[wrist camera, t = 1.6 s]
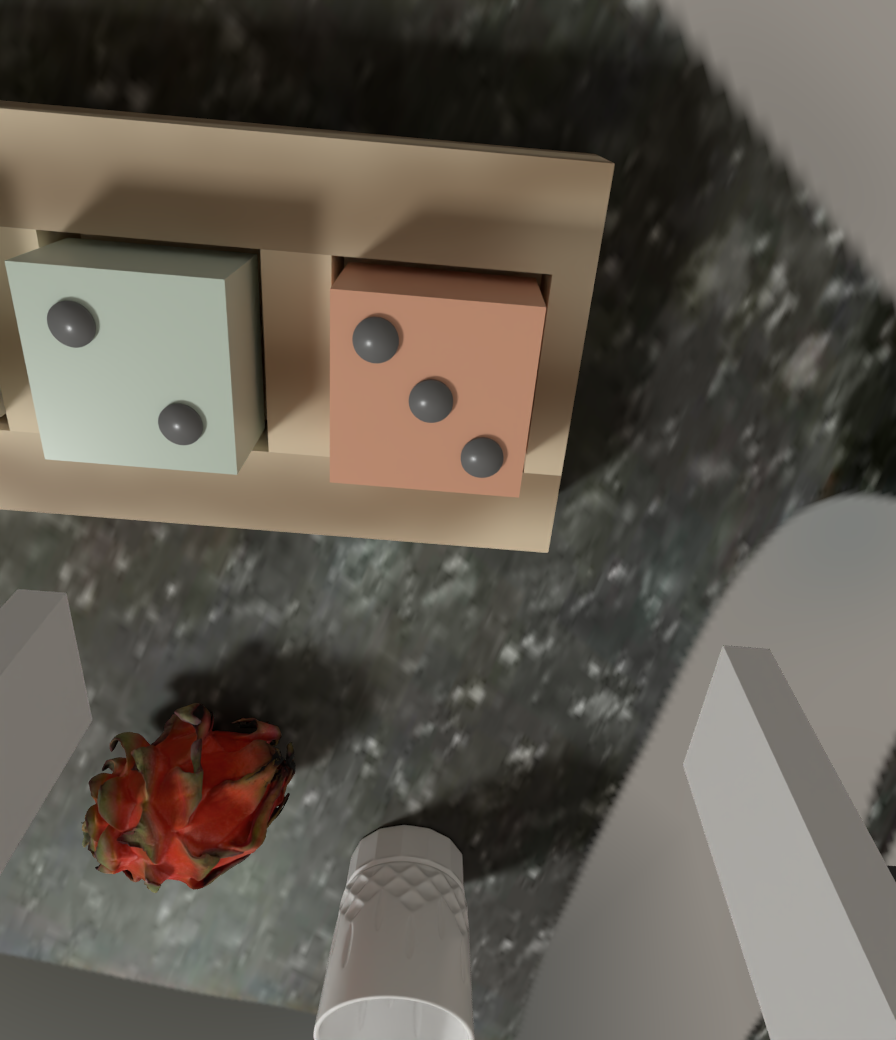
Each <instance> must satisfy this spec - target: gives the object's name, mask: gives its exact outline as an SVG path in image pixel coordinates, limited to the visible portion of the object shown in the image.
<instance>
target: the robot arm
mask: <svg viewBox="0 0 896 1040" xmlns="http://www.w3.org/2000/svg"><path fill="white" fill-rule="evenodd" d="M91 722H92V715H91V711H90V706H89V701H88V696H87V691H86V686H85V681H84V677H83V672H82V667H81V662H80V657H79V652H78V647H77V643H76V638H75V633H74V628H73V623H72V618H71V613H70V609H69V604H68V599H67V594H66V593H60V592H48V591H35V590H23V589H17V591H16V592H15V593H14V594H13V595H12V596H11V597H10V598H9V599H8V601H7V602H6V603H5V604H4V605H3V606H2V607H1V608H0V874H1V873H2V871H3V869H4V868H5V866H6V864H7V863H8V861H9V859H10V858H11V856H12V854H13V853H14V851H15V849H16V847H17V846H18V844H19V842H20V841H21V839H22V837H23V836H24V834H25V832H26V831H27V829H28V827H29V826H30V824H31V822H32V821H33V819H34V817H35V816H36V814H37V812H38V811H39V809H40V807H41V806H42V804H43V802H44V800H45V799H46V797H47V795H48V794H49V792H50V790H51V789H52V787H53V785H54V784H55V782H56V780H57V779H58V777H59V775H60V774H61V772H62V770H63V769H64V767H65V765H66V764H67V762H68V760H69V758H70V757H71V755H72V753H73V752H74V750H75V748H76V747H77V745H78V743H79V742H80V740H81V738H82V737H83V735H84V733H85V732H86V730H87V728H88V727H89V725H90V723H91ZM683 767H684V770H685V773H686V776H687V779H688V783H689V786H690V789H691V792H692V795H693V798H694V801H695V804H696V807H697V811H698V814H699V817H700V820H701V823H702V826H703V830H704V833H705V836H706V839H707V842H708V845H709V848H710V851H711V854H712V858H713V860H714V864H715V867H716V870H717V873H718V877H719V880H720V883H721V886H722V889H723V892H724V895H725V898H726V902H727V905H728V908H729V911H730V914H731V917H732V920H733V923H734V927H735V930H736V933H737V936H738V939H739V942H740V945H741V948H742V952H743V955H744V958H745V961H746V964H747V967H748V970H749V974H750V976H751V979H752V983H753V986H754V989H755V992H756V996H757V998H758V1001H759V1005H760V1008H761V1011H762V1014H763V1017H764V1021H765V1024H766V1027H767V1030H768V1033H769V1036H770V1039H771V1040H896V866H887V865H886V863H885V862H884V860H883V858H882V856H881V854H880V852H879V850H878V849H877V847H876V845H875V843H874V841H873V839H872V838H871V836H870V834H869V832H868V830H867V828H866V826H865V825H864V823H863V821H862V819H861V817H860V815H859V814H858V812H857V810H856V808H855V806H854V804H853V802H852V801H851V799H850V797H849V795H848V793H847V791H846V790H845V788H844V786H843V784H842V782H841V780H840V778H839V777H838V775H837V773H836V771H835V769H834V767H833V765H832V764H831V762H830V760H829V758H828V756H827V754H826V753H825V751H824V749H823V747H822V745H821V743H820V742H819V740H818V738H817V736H816V734H815V732H814V730H813V728H812V727H811V725H810V723H809V721H808V719H807V717H806V716H805V714H804V712H803V710H802V708H801V706H800V704H799V703H798V701H797V699H796V697H795V695H794V694H793V692H792V690H791V688H790V686H789V684H788V682H787V680H786V678H785V677H784V675H783V673H782V671H781V669H780V667H779V666H778V664H777V662H776V660H775V658H774V656H773V655H772V653H771V651H770V649H763V648H751V647H738V646H724V645H723V647H722V650H721V653H720V656H719V659H718V662H717V665H716V668H715V671H714V674H713V677H712V680H711V683H710V685H709V689H708V691H707V694H706V698H705V701H704V703H703V706H702V710H701V712H700V715H699V718H698V721H697V724H696V727H695V730H694V734H693V736H692V739H691V742H690V745H689V748H688V751H687V754H686V757H685V760H684V763H683Z"/></svg>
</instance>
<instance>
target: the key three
mask: <svg viewBox="0 0 896 1040" xmlns="http://www.w3.org/2000/svg"><path fill="white" fill-rule="evenodd" d="M545 313H546V305H545V302H544V300H543V297H542V294H541V291H540V289H539V286H538V283H537V280H536V278H528V277H517V276H505V275H494V274H482V273H471V272H459V271H448V270H436V269H425V268H413V267H402V266H390V265H379V264H367V263H356V262H348V264H347V265H346V266H345V268H344V269H343V271H342V272H341V274H340V275H339V277H338V278H337V279H336V281H335V282H334V284H333V285H332V287H331V288H330V482H331V483H344V484H356V485H368V486H381V487H393V488H405V489H418V490H430V491H442V492H455V493H467V494H479V495H492V496H504V497H516V498H519V495H520V488H521V481H522V474H523V467H524V460H525V453H526V446H527V439H528V432H529V425H530V418H531V411H532V404H533V397H534V390H535V383H536V376H537V369H538V362H539V355H540V348H541V341H542V334H543V327H544V320H545Z"/></svg>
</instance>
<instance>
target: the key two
mask: <svg viewBox="0 0 896 1040" xmlns="http://www.w3.org/2000/svg"><path fill="white" fill-rule="evenodd" d="M5 266H6V271H7V275H8V280H9V285H10V290H11V295H12V300H13V305H14V310H15V315H16V320H17V324H18V329H19V334H20V339H21V344H22V349H23V354H24V359H25V364H26V369H27V374H28V378H29V383H30V388H31V393H32V398H33V403H34V408H35V413H36V418H37V423H38V427H39V432H40V437H41V442H42V447H43V452H44V457H45V459H47V460H60V461H72V462H84V463H97V464H109V465H121V466H134V467H146V468H158V469H171V470H183V471H195V472H208V473H220V474H233V475H237V474H238V473H239V471H240V469H241V468H242V466H243V464H244V463H245V461H246V459H247V458H248V456H249V454H250V453H251V451H252V449H253V448H254V446H255V444H256V443H257V441H258V439H259V438H260V436H261V434H262V433H263V431H264V429H265V416H264V394H263V371H262V348H261V325H260V302H259V279H258V257H257V254H252V253H240V252H229V251H217V250H206V249H194V248H183V247H171V246H160V245H148V244H137V243H125V242H114V241H102V240H91V239H79V238H65V239H62V240H59V241H57V242H54V243H51V244H49V245H46V246H43V247H40V248H38V249H35V250H32V251H30V252H27V253H24V254H21V255H19V256H16V257H13V258H10V259H8V260H5Z"/></svg>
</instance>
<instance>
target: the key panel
mask: <svg viewBox="0 0 896 1040" xmlns="http://www.w3.org/2000/svg"><path fill="white" fill-rule="evenodd" d="M614 165H615V164H614V163H612V162H610V161H608V160H606V159H604V158H602V157H600V156H598V155H596V154H589V153H578V152H567V151H556V150H545V149H534V148H523V147H512V146H501V145H490V144H479V143H468V142H456V141H445V140H434V139H423V138H412V137H401V136H390V135H379V134H368V133H357V132H346V131H335V130H324V129H312V128H301V127H290V126H279V125H268V124H257V123H246V122H235V121H224V120H213V119H202V118H191V117H179V116H168V115H157V114H146V113H135V112H124V111H113V110H102V109H91V108H80V107H69V106H58V105H47V104H35V103H24V102H13V101H2V100H0V388H1V393H2V397H3V401H4V406H5V410H6V414H4V415H3V416H2V417H0V509H5V510H17V511H30V512H42V513H55V514H67V515H80V516H93V517H105V518H118V519H130V520H143V521H155V522H168V523H180V524H193V525H206V526H218V527H231V528H243V529H256V530H268V531H281V532H293V533H306V534H319V535H331V536H344V537H356V538H369V539H381V540H394V541H406V542H419V543H432V544H444V545H457V546H469V547H482V548H494V549H507V550H519V551H532V552H545V553H548V550H549V544H550V538H551V533H552V527H553V521H554V515H555V509H556V503H557V498H558V492H559V486H560V480H561V474H562V468H563V463H564V457H565V451H566V445H567V439H568V433H569V428H570V422H571V416H572V410H573V404H574V399H575V393H576V387H577V381H578V375H579V369H580V364H581V358H582V352H583V346H584V340H585V334H586V329H587V323H588V317H589V311H590V305H591V299H592V294H593V288H594V282H595V276H596V270H597V264H598V259H599V253H600V247H601V241H602V235H603V230H604V224H605V218H606V212H607V206H608V200H609V195H610V189H611V183H612V177H613V171H614ZM65 238H79V239H91V240H102V241H114V242H125V243H137V244H148V245H160V246H171V247H183V248H194V249H206V250H217V251H229V252H240V253H252V254H257V257H258V279H259V302H260V325H261V348H262V371H263V394H264V416H265V429H264V431H263V433H262V434H261V436H260V438H259V439H258V441H257V443H256V444H255V446H254V448H253V449H252V451H251V453H250V454H249V456H248V458H247V459H246V461H245V463H244V464H243V466H242V468H241V469H240V471H239V473H238V474H237V475H233V474H220V473H208V472H195V471H183V470H171V469H158V468H146V467H134V466H121V465H109V464H97V463H84V462H72V461H60V460H47V459H45V457H44V452H43V447H42V442H41V437H40V432H39V427H38V423H37V418H36V413H35V408H34V403H33V398H32V393H31V388H30V383H29V378H28V374H27V369H26V364H25V359H24V354H23V349H22V344H21V339H20V334H19V329H18V324H17V320H16V315H15V310H14V305H13V300H12V295H11V290H10V285H9V280H8V275H7V271H6V266H5V260H8V259H10V258H13V257H16V256H19V255H21V254H24V253H27V252H30V251H32V250H35V249H38V248H40V247H43V246H46V245H49V244H51V243H54V242H57V241H59V240H62V239H65ZM348 262H356V263H367V264H379V265H390V266H402V267H413V268H425V269H436V270H448V271H459V272H471V273H482V274H494V275H505V276H517V277H528V278H536V280H537V283H538V286H539V289H540V291H541V294H542V297H543V300H544V302H545V305H546V313H545V320H544V327H543V334H542V341H541V348H540V355H539V362H538V369H537V376H536V383H535V390H534V397H533V404H532V411H531V418H530V425H529V432H528V439H527V446H526V453H525V460H524V467H523V474H522V481H521V488H520V495H519V498H516V497H504V496H492V495H479V494H467V493H455V492H442V491H430V490H418V489H405V488H393V487H381V486H368V485H356V484H344V483H331V482H330V288H331V287H332V285H333V284H334V282H335V281H336V279H337V278H338V277H339V275H340V274H341V272H342V271H343V269H344V268H345V266H346V265H347V264H348Z"/></svg>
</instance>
